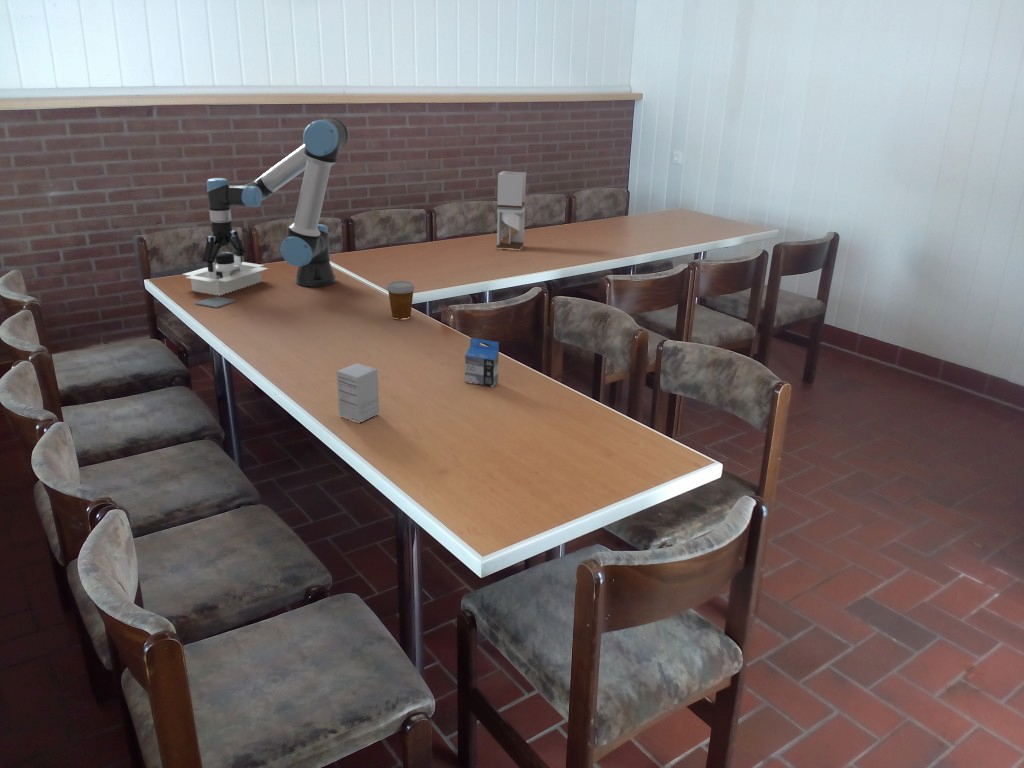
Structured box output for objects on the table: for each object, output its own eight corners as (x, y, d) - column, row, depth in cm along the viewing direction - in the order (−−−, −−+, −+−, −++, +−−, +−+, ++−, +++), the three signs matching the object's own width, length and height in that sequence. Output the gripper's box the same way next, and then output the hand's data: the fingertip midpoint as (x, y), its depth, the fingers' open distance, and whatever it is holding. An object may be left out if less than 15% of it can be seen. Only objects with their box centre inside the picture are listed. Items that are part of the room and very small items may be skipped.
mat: (236, 301, 298) (236, 300, 298) (216, 308, 290) (216, 306, 289) (215, 297, 302) (215, 296, 302) (195, 304, 293) (195, 302, 293)
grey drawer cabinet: (359, 407, 213) (356, 362, 208) (380, 415, 209) (378, 368, 204) (338, 417, 207) (335, 370, 202) (359, 424, 203) (357, 377, 198)
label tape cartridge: (464, 382, 231) (464, 341, 226) (469, 378, 234) (469, 337, 230) (493, 387, 228) (494, 346, 223) (498, 383, 231) (499, 341, 227)
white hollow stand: (496, 249, 388) (497, 174, 375) (500, 245, 398) (502, 171, 385) (520, 251, 387) (522, 175, 373) (523, 246, 396) (526, 172, 383)
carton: (274, 281, 325) (273, 266, 322) (221, 299, 300) (220, 283, 298) (233, 274, 333) (231, 260, 330) (178, 291, 308) (176, 275, 306)
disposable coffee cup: (393, 323, 279) (392, 289, 275) (383, 315, 287) (382, 282, 283) (419, 319, 284) (418, 286, 279) (409, 312, 291) (408, 279, 287)
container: (231, 289, 312) (228, 256, 307) (213, 288, 314) (209, 254, 309) (242, 284, 319) (238, 251, 314) (223, 283, 321) (220, 250, 316)
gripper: (236, 214, 319) (241, 268, 327) (188, 225, 298) (194, 281, 306) (251, 216, 316) (256, 270, 324) (204, 227, 295) (210, 284, 303)
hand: (226, 276), depth 315 cm, fingers open, 13 cm apart
